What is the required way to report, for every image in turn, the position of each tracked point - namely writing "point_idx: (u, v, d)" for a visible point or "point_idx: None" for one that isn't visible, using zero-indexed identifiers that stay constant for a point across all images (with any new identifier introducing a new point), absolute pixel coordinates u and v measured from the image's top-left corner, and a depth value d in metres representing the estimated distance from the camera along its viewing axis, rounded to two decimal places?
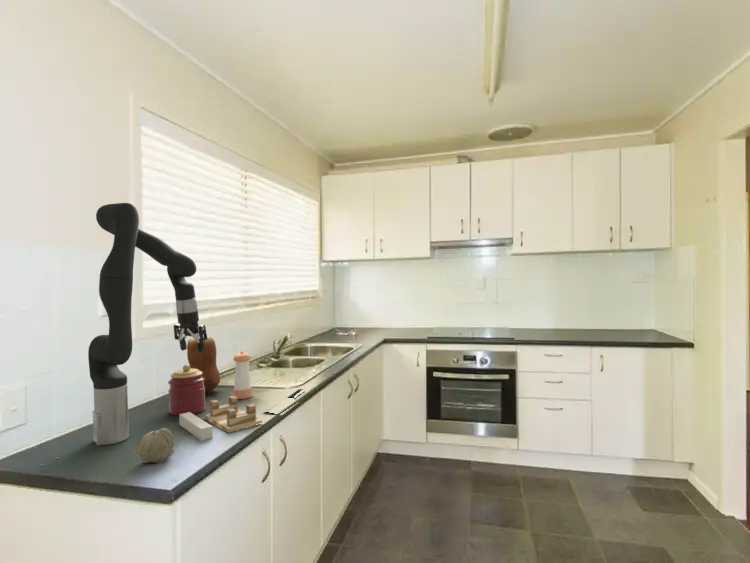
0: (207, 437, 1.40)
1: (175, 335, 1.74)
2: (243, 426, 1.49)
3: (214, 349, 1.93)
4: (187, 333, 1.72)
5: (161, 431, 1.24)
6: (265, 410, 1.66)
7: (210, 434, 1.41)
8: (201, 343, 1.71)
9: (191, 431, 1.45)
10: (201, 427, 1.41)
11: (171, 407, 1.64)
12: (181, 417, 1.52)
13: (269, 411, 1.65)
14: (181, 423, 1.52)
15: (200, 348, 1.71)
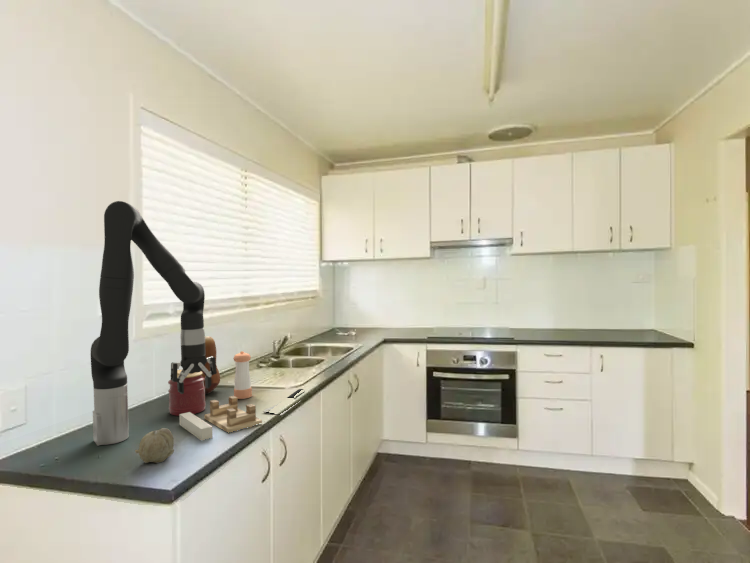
0: (207, 437, 1.40)
1: None
2: (243, 426, 1.49)
3: (214, 349, 1.93)
4: None
5: (161, 431, 1.24)
6: (265, 410, 1.66)
7: (210, 434, 1.41)
8: (177, 383, 1.44)
9: (191, 431, 1.45)
10: (201, 427, 1.41)
11: (171, 407, 1.64)
12: (181, 417, 1.52)
13: None
14: (181, 423, 1.53)
15: None
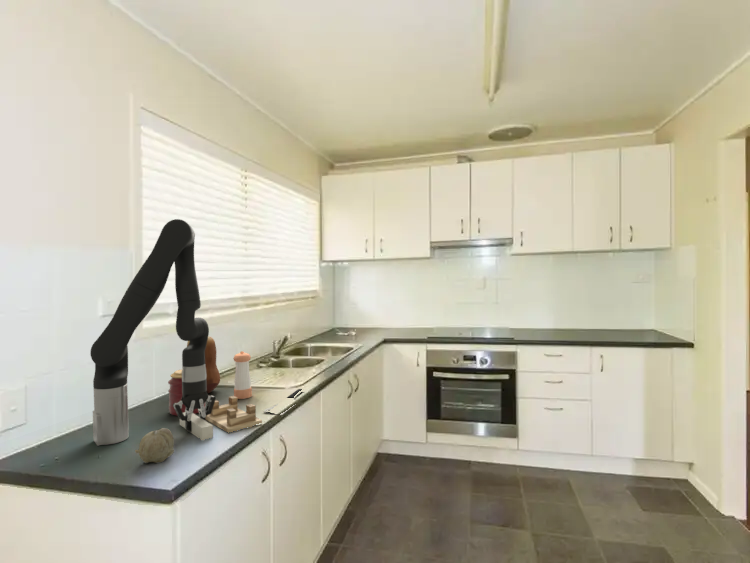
0: (208, 436, 1.41)
1: None
2: (243, 426, 1.49)
3: (214, 349, 1.93)
4: None
5: (161, 431, 1.24)
6: (266, 410, 1.66)
7: (211, 433, 1.41)
8: (185, 422, 1.46)
9: None
10: (201, 426, 1.41)
11: (171, 407, 1.64)
12: None
13: None
14: (181, 422, 1.53)
15: None
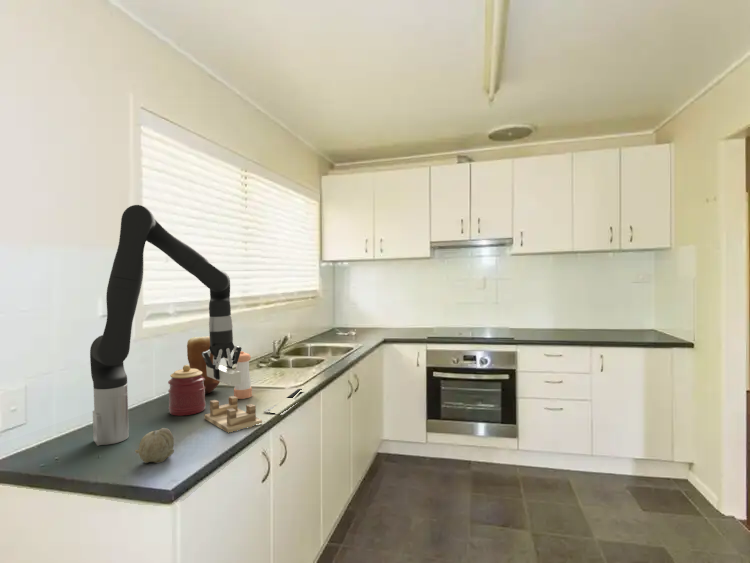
0: (236, 382, 1.47)
1: None
2: (243, 426, 1.49)
3: None
4: None
5: (161, 431, 1.24)
6: (266, 410, 1.66)
7: (239, 379, 1.47)
8: (213, 370, 1.52)
9: None
10: (230, 372, 1.47)
11: (171, 407, 1.64)
12: (208, 367, 1.59)
13: None
14: (208, 373, 1.59)
15: None
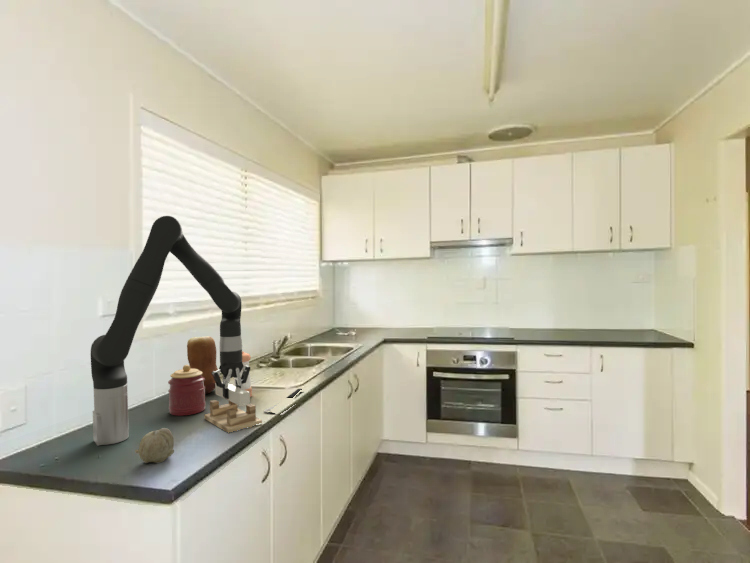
0: (245, 402, 1.49)
1: None
2: (243, 426, 1.49)
3: (214, 349, 1.93)
4: None
5: (161, 431, 1.24)
6: (266, 410, 1.66)
7: (248, 399, 1.50)
8: (223, 389, 1.54)
9: (229, 397, 1.54)
10: (239, 392, 1.50)
11: (171, 407, 1.64)
12: (217, 386, 1.61)
13: None
14: (217, 391, 1.61)
15: None
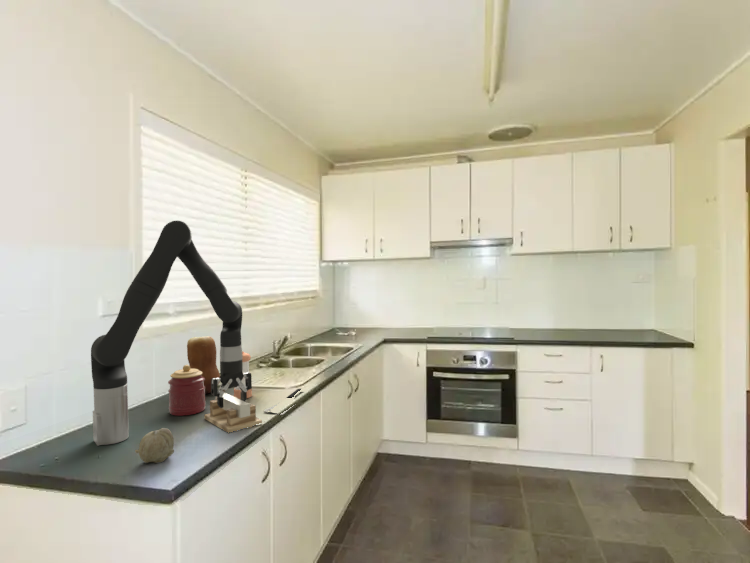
0: (245, 414, 1.49)
1: None
2: (243, 426, 1.49)
3: (214, 349, 1.93)
4: None
5: (161, 431, 1.24)
6: (266, 409, 1.66)
7: (248, 411, 1.50)
8: (217, 398, 1.53)
9: None
10: (239, 404, 1.49)
11: (171, 407, 1.64)
12: None
13: None
14: None
15: None
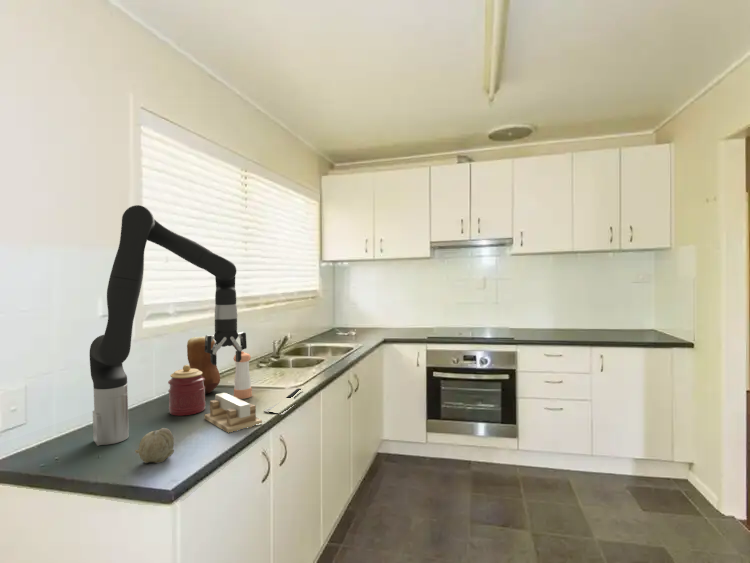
0: (245, 414, 1.49)
1: None
2: (243, 426, 1.49)
3: None
4: None
5: (161, 431, 1.24)
6: (266, 409, 1.67)
7: (248, 411, 1.50)
8: (211, 355, 1.53)
9: None
10: (239, 404, 1.49)
11: (171, 407, 1.64)
12: (217, 397, 1.61)
13: None
14: None
15: None
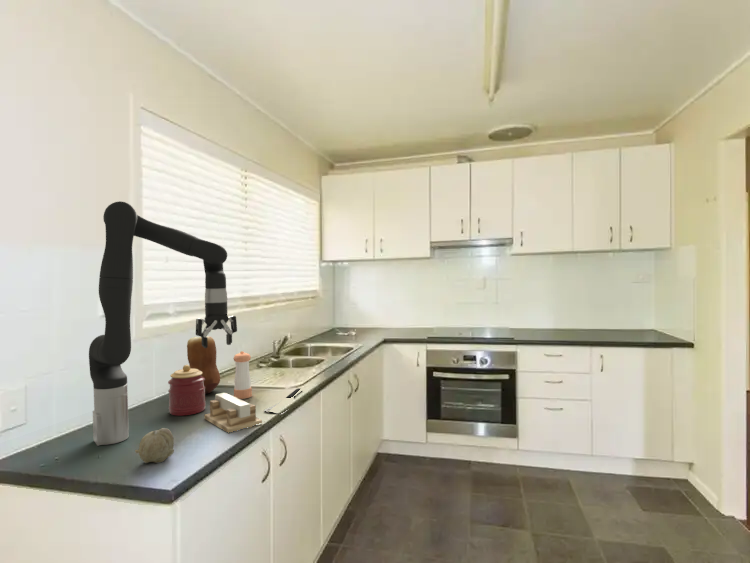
0: (245, 414, 1.49)
1: None
2: (243, 426, 1.49)
3: (214, 349, 1.93)
4: None
5: (161, 431, 1.24)
6: (266, 409, 1.67)
7: (248, 411, 1.50)
8: (202, 338, 1.56)
9: None
10: (239, 404, 1.49)
11: (171, 407, 1.64)
12: (217, 397, 1.61)
13: None
14: None
15: None
